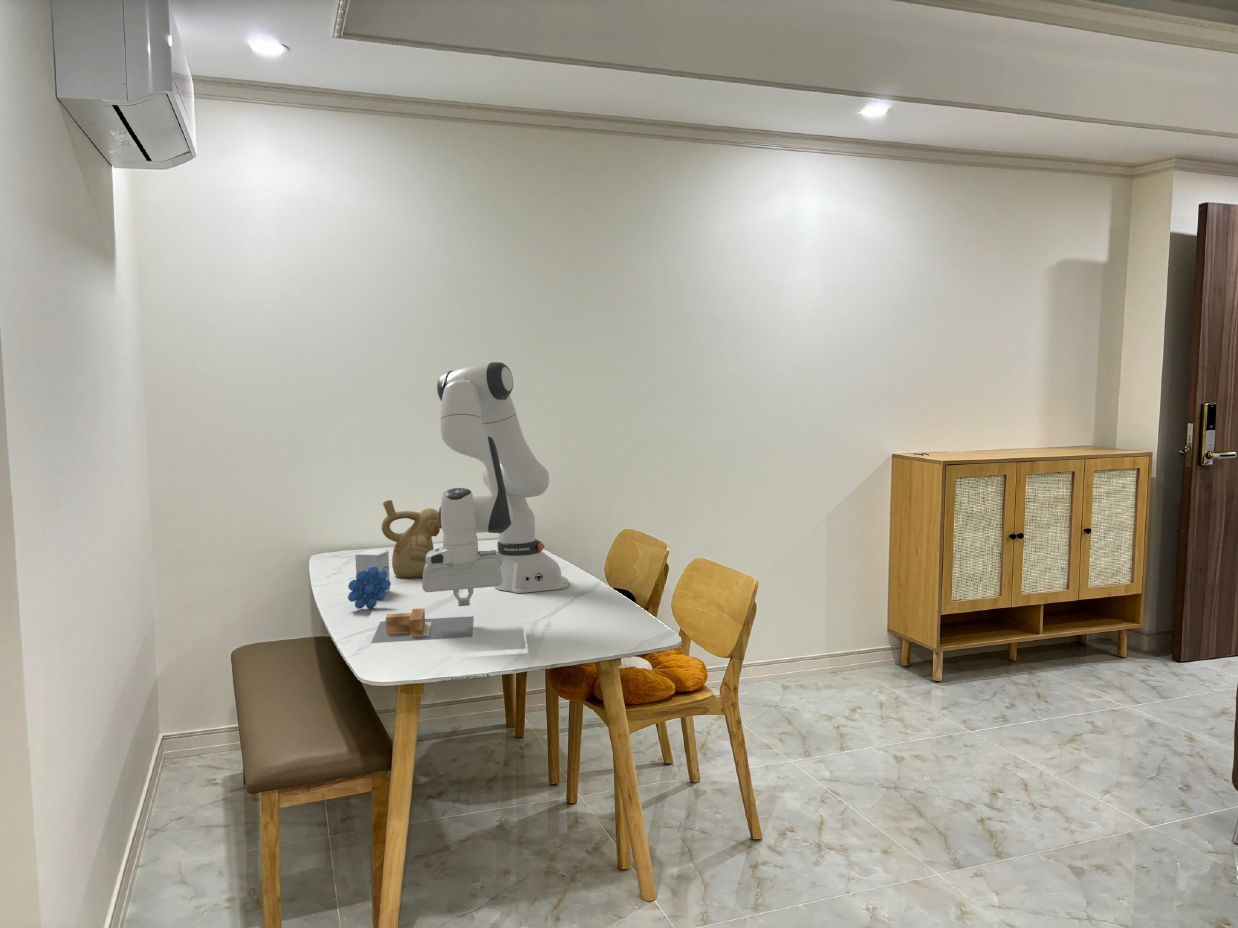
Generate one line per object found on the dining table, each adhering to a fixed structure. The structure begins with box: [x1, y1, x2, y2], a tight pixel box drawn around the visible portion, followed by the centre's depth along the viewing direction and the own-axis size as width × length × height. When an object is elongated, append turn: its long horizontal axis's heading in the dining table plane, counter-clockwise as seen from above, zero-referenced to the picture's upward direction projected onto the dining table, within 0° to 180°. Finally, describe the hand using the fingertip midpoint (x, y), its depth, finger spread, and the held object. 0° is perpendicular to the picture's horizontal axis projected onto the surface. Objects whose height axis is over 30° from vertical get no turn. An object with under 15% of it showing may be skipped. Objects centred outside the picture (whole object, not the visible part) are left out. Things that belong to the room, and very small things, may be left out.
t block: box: [385, 607, 426, 636], centre depth 215 cm, size 9×10×4 cm
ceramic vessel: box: [381, 499, 442, 579], centre depth 278 cm, size 17×20×25 cm
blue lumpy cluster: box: [347, 566, 392, 610], centre depth 239 cm, size 12×7×12 cm, turn 110°
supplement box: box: [355, 549, 391, 593], centre depth 255 cm, size 7×7×13 cm
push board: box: [370, 615, 474, 644], centre depth 216 cm, size 24×18×1 cm
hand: (464, 605), depth 219 cm, fingers closed
